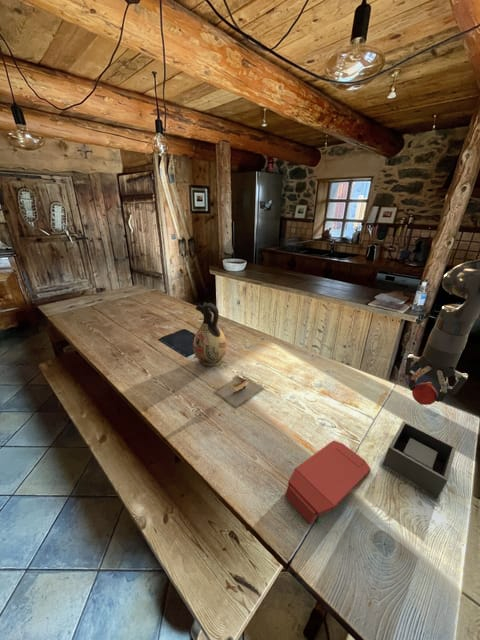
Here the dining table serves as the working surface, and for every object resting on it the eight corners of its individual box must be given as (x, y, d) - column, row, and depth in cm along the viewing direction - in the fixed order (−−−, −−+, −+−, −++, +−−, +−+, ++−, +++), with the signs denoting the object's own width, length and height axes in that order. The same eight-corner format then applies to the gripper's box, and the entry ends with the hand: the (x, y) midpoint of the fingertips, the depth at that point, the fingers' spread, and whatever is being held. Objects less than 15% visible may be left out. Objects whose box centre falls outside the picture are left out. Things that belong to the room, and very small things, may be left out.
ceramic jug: (187, 361, 124) (181, 301, 110) (211, 348, 134) (209, 292, 121) (211, 376, 113) (209, 313, 100) (236, 361, 124) (236, 301, 111)
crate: (396, 438, 86) (403, 420, 83) (446, 465, 78) (456, 447, 74) (381, 465, 77) (388, 447, 74) (436, 500, 69) (447, 481, 66)
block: (405, 448, 82) (410, 437, 79) (432, 463, 77) (437, 452, 75) (398, 463, 77) (403, 452, 75) (426, 480, 73) (432, 468, 71)
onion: (412, 408, 76) (421, 386, 72) (406, 395, 81) (414, 374, 77) (435, 413, 75) (445, 390, 71) (428, 399, 80) (437, 377, 76)
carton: (332, 450, 86) (279, 490, 70) (335, 438, 84) (282, 477, 69) (367, 479, 77) (317, 532, 62) (373, 466, 76) (322, 518, 60)
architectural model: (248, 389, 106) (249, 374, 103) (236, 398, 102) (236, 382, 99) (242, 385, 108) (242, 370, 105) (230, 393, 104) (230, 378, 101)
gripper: (482, 349, 67) (457, 401, 74) (417, 330, 76) (401, 377, 83) (478, 361, 62) (452, 415, 69) (410, 339, 71) (393, 388, 78)
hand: (424, 394), depth 76 cm, fingers closed on onion, 6 cm apart
